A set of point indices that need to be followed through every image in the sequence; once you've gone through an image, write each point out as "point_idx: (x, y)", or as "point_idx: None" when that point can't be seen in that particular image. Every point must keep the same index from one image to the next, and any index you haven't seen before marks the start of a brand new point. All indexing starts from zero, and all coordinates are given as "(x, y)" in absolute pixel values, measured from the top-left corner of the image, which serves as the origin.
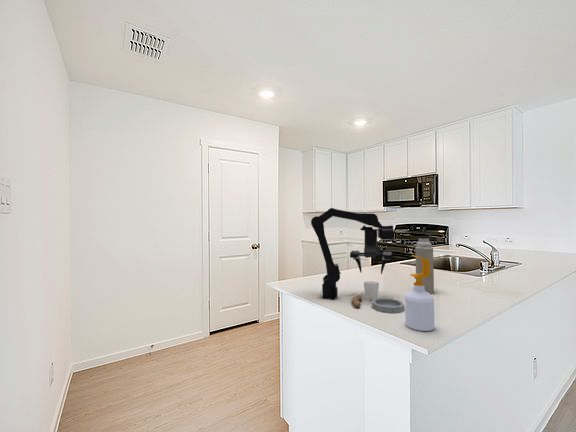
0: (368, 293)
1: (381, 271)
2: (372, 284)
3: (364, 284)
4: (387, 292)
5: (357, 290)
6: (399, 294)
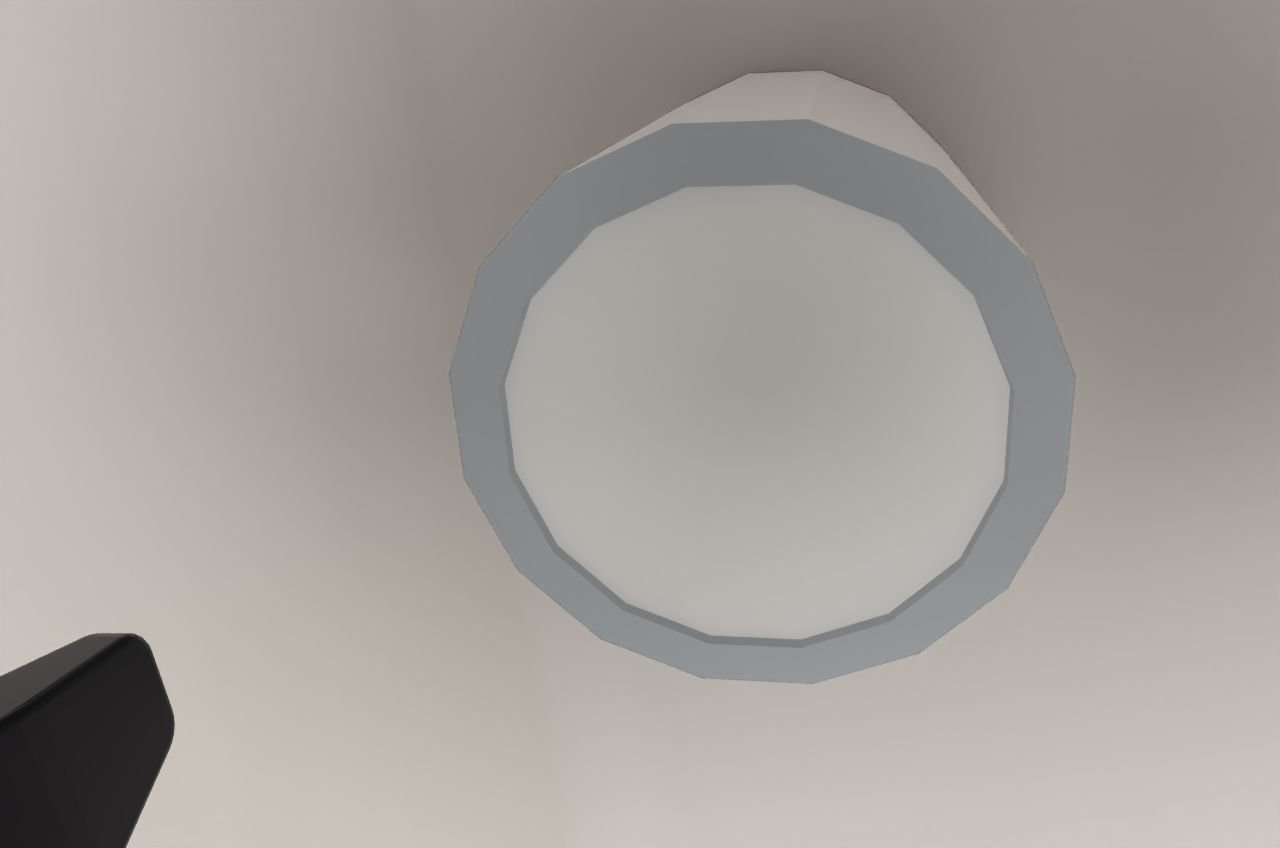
0: (851, 94)
1: (13, 694)
2: (658, 175)
3: (1029, 264)
4: (485, 793)
5: (1232, 796)
6: (225, 712)
